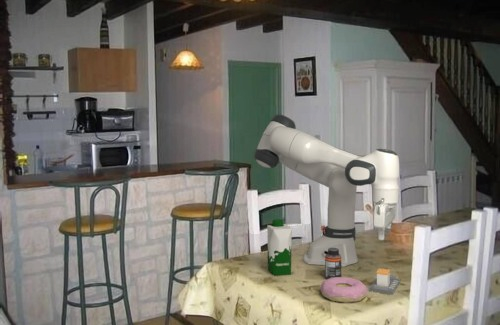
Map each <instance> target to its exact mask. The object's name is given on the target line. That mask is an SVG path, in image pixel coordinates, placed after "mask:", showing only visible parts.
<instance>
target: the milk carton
mask: <svg viewBox="0 0 500 325" xmlns="http://www.w3.org/2000/svg"><path fill="white" fill-rule="evenodd" d="M266 228H267V229H266V230H267V231H266V232H267V233H266V234H267V270H268V272H269V273H270V274H271V275H272V276H273V275H274V276H273V277H277V276H278V277H279V276H287V275H292V237H293V236H292V233H293V228H292V227H291V226H289V225H288V224H285V223H284V220H283V219H278V218H277V219H273V220H272V224H269V225H268V224H267V227H266Z"/></svg>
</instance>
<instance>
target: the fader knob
mask: <svg viewBox="0 0 500 325" xmlns="http://www.w3.org/2000/svg"><path fill="white" fill-rule="evenodd" d="M390 275H391V269H387V268H386V269H385V268H378V269H377V271H376V278H377V285H381V286H389V284H390Z"/></svg>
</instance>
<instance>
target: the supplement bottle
mask: <svg viewBox="0 0 500 325" xmlns="http://www.w3.org/2000/svg"><path fill="white" fill-rule="evenodd" d="M324 269H325V270H324V273H325V274H324V275H325V280H327V279H330V278H335V277H342V267H341V255H340V254H339V249H338V248H328V253H327V254H326V255H325V265H324Z"/></svg>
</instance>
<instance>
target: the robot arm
mask: <svg viewBox="0 0 500 325" xmlns="http://www.w3.org/2000/svg"><path fill="white" fill-rule="evenodd" d="M257 144H258V145H257V148H256V149H255V150H254V154H253V158H254V160H255V161H256V162H257V163H258V165H260V166H262V167H263V168H268V169H274V168H276V167H277V166H278V165H279V163H281V164H282V165H283V166H285V167H286V168H289V169H290V170H292V171H293V172H296V173H297V174H299V175H301V176H303V177H305V178H307V179H308V180H312V181H313V182H315V183H318V184H320V185H322V186H324V187H327V188H328V199H327V200H328V201H327V202H328V203H327V225H321V227H320V230H321V231H322V233H321V234H322V235H321V236H319V237H318V238H316V239H315V240H314V241H312V242H311V244H310V246H309V249H308V252H307V253H305V254H304V255H303V262H304V263H306V264H308V265H317V266H325V255H326V254H327V253H328V248H338V249H339V254H340V255H341V268H342V267H343V268H344V267H347V266H350V265H354V264H356V263H358V262H359V258H358V255H357V250H356V236H357V229H356V227H355V220H356V218H355V212H356V211H355V210H356V202H357V200H356V199H357V190H358V189H357V188H358V187H362V186H363V187H364V186H366V185H367V186H368V185H370V186H372V187H371V188H372V191H371V193H372V194H371V195H372V196H371V202H374V203H375V206H374V210H373V221H372V222H373V223H372V224H373V228H374V229H377V233H378V240H380V241H384V240H385V239H386V236H385V234H386V235H390V234H391V228H392V222H393V220H395V219H396V216H397V208H398V203H399V201H400V186H399V178H400V175H401V174H400V158H399V154H397V152H396V151H394V150H391V149H387V148H376V149H375V150H374V151H372V152H371V153H368V154H366V155H358V154H355V153H352V152H350V151H347V150H344V149H341V148H338V147H335V146H333V145H331V144H329V143H327V142H324V141H323V140H320V139H319V138H317V137H315V136H313V135H311V134H309V133H307V132H304V131H302V130H299V129H297V127H296V123H295V121H294V120H293V119H292V118H290V117H289V116H287V115H285V114H284V115H283V114H275V115H274V116H273V117H272V118H271V119H270V122H269V124H268V125H267V127H266V128H265V130H264V132H263V133H262V136H261V137H260V140H259V142H258V143H257Z"/></svg>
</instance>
